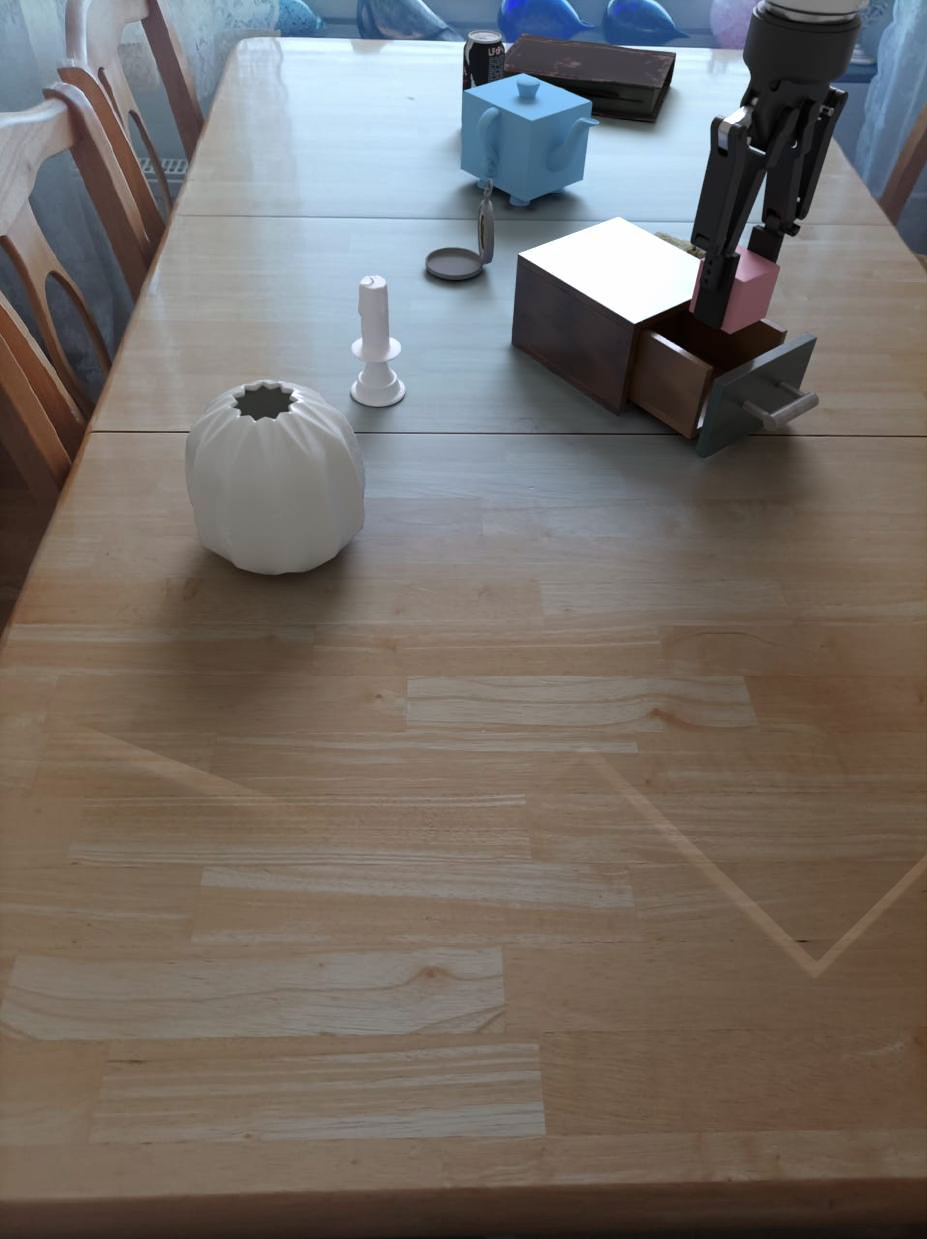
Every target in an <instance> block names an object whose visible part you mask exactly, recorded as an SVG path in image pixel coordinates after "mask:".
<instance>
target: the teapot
mask: <svg viewBox="0 0 927 1239" xmlns="http://www.w3.org/2000/svg"><path fill="white" fill-rule="evenodd" d="M591 110H592V102H591V101H590V100H587V99H585V98H583V97H580V96H578V95H575V94H573V93H571V92H568V91H566V90H564V89H562V88H558V87H556V86H554V85H551V84H549V83H546V82H544V81H541V80H539V79H537V78H535V77H532V76H529V75H527V74H524V73H522V74H519V75H516V76H512V77H509V78H505V79H502V80H498V81H495V82H491V83H488V84H485V85H481V86H478V87H475V88H471V89H468V90H464V91H463V98H462V97H461V120H462V122H461V139H460V170H462V171H464V172H466V173H467V174H470V175H472V176H474V177H476V178H478V179H479V181H478V182H477V183H476V186H477V188H480V189H482V190H485V189H486V184H487V181H488V180H489V179H492V182H493V188H492V190H493V189H495V188H497V189H499V190H501V191H503V192H505V193H507V194H509V195H510V199H509V203H510V204H511V205H512V206H515V207H527V206H529V205H530V204H531V200H534V199H537V198H539V197H542V196H544V195H547V194H549V193H551V194H560V193H562V192H564V191H565V187H568V186H570V185H573V184H576V183H579V182H581V181H583V180H584V176H585V175H584V174H585V166H586V159H587V150H588V144H589V142H588V141H589V134H590V127H594V126H596V125H599V124H600V121H599V120H597V119H594V118H592V113H591ZM488 188H489V189H491V181H490V182H489V184H488Z"/></svg>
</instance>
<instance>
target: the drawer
mask: <svg viewBox="0 0 927 1239" xmlns="http://www.w3.org/2000/svg"><path fill="white" fill-rule="evenodd" d="M788 331H789V330H788V329H787V328H785V327H783V326H781V325H780V324H777V323H776V322H774V321H772V320H770V319H768V318H767V317H765V318H763V319H761V320H759V321H757V322H755V323H753V324H751V325H748V326H746V327H744V328H742V329H740V330H738V331H736V332H734V333H732V334H729V333H727V332H725V331H723V330H722V329H720V328H719V329H717V330H716V329H714V328H712V327H710V326H709V325H707V324H705V323H703V322H702V321H700V320H698V319H696V318H695V317H693V313H692V312H690V311H689V308H687V309H685V310H683V311H681V312H679V313H676V314H674V315H672V316H670V317H667V318H665V319H663V320H661V321H658V322H656V323H654V324H652V325H650V326H647V327H645V328H643V329H641V330H640V331H639V336H638V342H637V347H636V352H635V358H634V363H633V368H632V374H631V379H630V384H629V389H628V395H627V398H628V399H630V400H631V401H633V402H634V403H636V404H637V405H639V406H638V407H640V408H642V409H643V410H645V411H646V412H648V413H649V414H651V415H653V416H654V417H656V418H657V419H658V420H660V421H661V422H663V423H664V424H666V425H668V426H669V427H671V428H672V429H673V430H675V431H677V432H678V433H679V434H681V435H682V436H685V437H686V438H687V439H688V440H691V439H692V438H694V437H696V436H698V435H699V436H698V440H697V443H696V447H695V451H694V453H695V455H697V456H698V457H700V458H701V459H703V460H706V459H708V458H709V457H711V456H713V455H716V454H717V453H718V452H721V451H722V450H724V449H726V448H727V447H729V446H731V445H733V444H735V443H737V442H738V441H741V440H742V439H744V438H746V437H747V436H749V435H751V434H752V433H755V432H757V431H758V430H760V429H762V428H764V429H765V430H767V431H769V432H773V431H775V430H777V429H779V428H781V427H782V426H784V425H786V424H787V423H789V422H791V421H792V420H795V419H797V418H798V417H800V416H802V415H804V414H806V413H807V412H809V411H810V410H813V409H814V408H816V407H817V406H818V405H819V402H820V399H819V398H820V397H819V396H818V395H817V393H816V392H813V391H809V392H807V393H804V392H803V391H801V386H802V383H803V380H804V377H805V374H806V372H807V369H808V366H809V363H810V360H811V357H812V355H813V351H814V349H815V346H816V343H817V340H818V337H817V336H816V335H814V334H812V333H810V332H808V331H806V332H804V333H802V334H800V335H798V336H796V337H794V338H792V339H790V340H788V341H786V337H787V335H788ZM785 341H786V342H785Z"/></svg>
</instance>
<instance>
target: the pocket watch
mask: <svg viewBox="0 0 927 1239" xmlns="http://www.w3.org/2000/svg"><path fill="white" fill-rule="evenodd" d="M490 181H491V189H489V188H488V184H489V182H490ZM492 188H493V182H492V179H489V180H488V181H487V184H486V189H484V192H483V197H484V199H482V200H481V202H480V203H479V207H478V214H477V247H478V252H476V251H474V250H472V249H469V248H466V247H465V248H464V247H459V246H449V247H448V246H447V247H441V248H437V249H435V250H432V251H431V252H429V253H428V254H427V255H426V257H425V260H424V261H425V263H424V264H425V267H426V270H427V271H428V273H430V274H432V275H433V276H435V277H437V278H440V279H443V280H444V279H445V280H452V281H460V280H467V279H470V278H473V277H476V276H477V275H479V274H480V273H481V272H482V270H483V268H484V266H485V265H488V264H491V263H492V262H493V259H494V254H495V239H496V238H495V236H496V230H495V229H496V228H495V214H494V207H493V204H492V201H491V200H490V198H491V195H492V193H493V189H494V188H493V189H492Z"/></svg>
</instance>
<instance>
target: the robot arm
mask: <svg viewBox="0 0 927 1239" xmlns="http://www.w3.org/2000/svg"><path fill="white" fill-rule="evenodd" d="M869 4H870V0H760V1H759V2H758V3H757V4H756V5H754V6H753V8H752V12H751V16H750V21H749V24H748V30H747V34H746V38H745V42H744V47H743V51H742V61H743V63H744V65H745V66H746V67H747V70H748V71H749V75H750V76H749V77H750V79H749V81H748V84H747V87H746V90H745V91H744V94H743V95H742V97H741V100H740V103H739V109H737V111H735V112H734V113H733V114H731V115H730V116H729V117H725V116H723V115H720V114H717V115H715V117H714V118H713V119H712V121H711V123H710V128H709V137H710V138H709V140H710V143H709V144H710V146H709V148H710V150H709V154H708V159H707V164H706V168H705V172H704V177H703V181H702V186H701V190H700V195H699V199H698V204H697V207H696V208H697V209H696V213H695V217H694V221H693V226H692V229H691V230H692V231H691V236H690V240H689V241H690V243H691V244H692V245H694V246H696V247H698V248H700V249H701V250H703V251H705V252H706V255H705V260H704V264H703V268H702V272H701V276H700V281H699V286H700V287H699V291H698V296H697V300H696V304H695V308H694V312H693V317H695V318H696V319H698V320H700V321H702V322H703V323H705V324H707V325H709V326H710V327H712V328H714V329H716V330H717V329H719V328H721V327H722V324H723V320H724V317H725V313H726V309H727V305H728V301H729V298H730V294H731V290H732V286H733V282H734V279H735V276H736V272H737V268H738V264H739V261H740V257H741V255H740V254H738V253H736V252H735V250H736V248H737V245H739V243H740V240H741V238H742V235H743V232H744V230H745V228H746V225H747V223H748V220H749V218H750V215H751V212H752V210H753V208H754V205H755V203H756V200H757V198H758V195H759V192H760V190H761V188H762V186H763V183H764V180H765V186H764V192H763V193H764V194H763V203H762V210H761V219H760V220H761V223H762V224H764V226H763V225H761V224H756V225H754V226H752V228H751V232H750V235H749V240H748V243H747V247H746V249H748V250H750V251H752V252H754V253H756V254H757V255H759V256H761V257H763V258H765V259H767V260H769V261H771V262H773V263H775V264H777V261H778V259H779V255H780V252H781V249H782V245H783V242H784V240H785V235H787V236H789V237H791V238H794V237H796V236H797V235H798V234H799V232H800V231H801V229H802V228H801V227H802V225H800V224H798V223H795V221H797V220H799V221H803V220H805V219H806V218H807V216H808V215H809V212H810V209H811V206H812V202H813V199H814V197H815V193H816V189H817V186H818V183H819V180H820V177H821V173H822V171H823V168H824V163H825V160H826V158H827V157H826V156H827V153H828V151H829V148H830V144H831V141H832V137H833V134H834V132H835V128H836V124H837V123H838V121H839V119H840V117H841V114H842V112H843V110H844V109H845V106H846V105H847V102H848V99H849V92H848V91H846V90H844V89H840V88H839V87H835V86H833V85H831V83H833V82H835V81H837V80H839V79H841V78H842V77H843V76H844V75H845V74H846V73H847V72H848V70H849V67H850V64H851V60H852V58H853V55H854V51H855V48H856V44H857V41H858V38H859V34H860V31H861V28H862V26H863V25H862V24H863V21H862V18H861V15H860V13H859V12H861V11H863V10H864V9H866V8H867V7H868V6H869ZM755 149H756V150H755ZM757 150H758V151H757ZM798 199H799V200H798Z"/></svg>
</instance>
